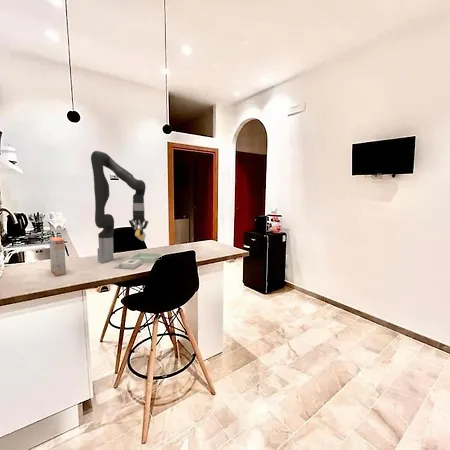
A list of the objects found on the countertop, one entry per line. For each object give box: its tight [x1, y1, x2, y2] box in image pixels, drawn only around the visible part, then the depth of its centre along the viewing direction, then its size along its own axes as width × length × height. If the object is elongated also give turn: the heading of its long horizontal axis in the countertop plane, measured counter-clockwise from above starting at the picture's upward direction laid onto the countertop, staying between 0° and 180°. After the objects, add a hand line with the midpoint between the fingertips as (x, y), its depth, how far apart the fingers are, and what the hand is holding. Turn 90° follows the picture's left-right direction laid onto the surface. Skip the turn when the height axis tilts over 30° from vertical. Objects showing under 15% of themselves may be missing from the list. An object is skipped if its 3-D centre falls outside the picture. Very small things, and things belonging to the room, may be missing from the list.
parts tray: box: [128, 251, 162, 263], centre depth 190 cm, size 18×16×4 cm
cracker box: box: [48, 236, 67, 277], centre depth 156 cm, size 14×6×21 cm, turn 42°
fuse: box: [134, 227, 146, 242], centre depth 181 cm, size 3×5×10 cm
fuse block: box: [113, 258, 143, 271], centre depth 172 cm, size 14×14×4 cm
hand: (138, 234), depth 179 cm, fingers closed on fuse, 2 cm apart
